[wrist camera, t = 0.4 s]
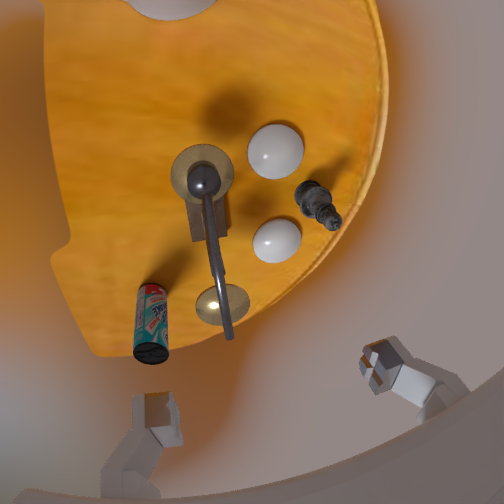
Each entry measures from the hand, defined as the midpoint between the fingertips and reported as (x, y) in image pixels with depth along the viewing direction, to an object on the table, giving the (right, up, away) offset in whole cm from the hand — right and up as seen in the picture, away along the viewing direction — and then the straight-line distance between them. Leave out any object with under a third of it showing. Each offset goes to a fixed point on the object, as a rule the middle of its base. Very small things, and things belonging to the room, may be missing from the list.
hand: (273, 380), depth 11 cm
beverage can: (-20, -3, +45) cm, 50 cm away
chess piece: (+9, +15, +41) cm, 44 cm away
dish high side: (+4, +7, +45) cm, 45 cm away
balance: (-8, +12, +38) cm, 41 cm away
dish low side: (+3, +21, +35) cm, 41 cm away
